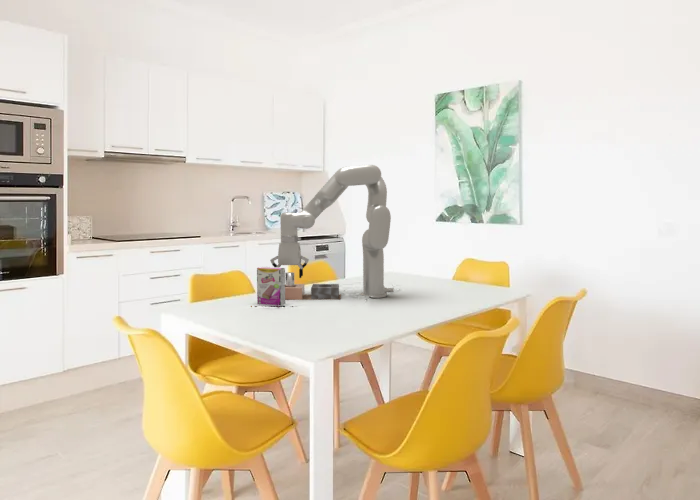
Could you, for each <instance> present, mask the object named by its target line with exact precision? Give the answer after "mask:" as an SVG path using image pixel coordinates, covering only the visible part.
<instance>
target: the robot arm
mask: <svg viewBox="0 0 700 500" xmlns="http://www.w3.org/2000/svg"><path fill="white" fill-rule="evenodd" d="M351 186H353V187H354V186H366V188H367V193H368V195H367V196H368V197H367V205H366V214H365V218H366V220H367V222H368V223H369V224H368V228H367V229H366V230H365V231H364V232H363V234H362V237H361V238H362V239H361V244H362V245H361V246H362V257H363V258H362V274H363V275H362V280H363V282H362V286H363V287H362V288H363V290H362V292H360V293H359V295H360V296H364V297H369V299H381V298H386V297H387V296H388V293H394V291H395V289H394V288H393V287H385V282H384V279H385V271H384V269H385V267H384V266H385V265H384V264H385V259H384V256H385V255H384V254H385V253H384V248H386V247H387V245H388V243H389V238H390V231H391V230H390V228H391V221H392V220H391V219H392V215H391V211H390V209H389V208H388V207H387V199H388V198H387V197H388V195H387V193H388V191H387V189H388V188H387V184H386V182H385V180H384V179H383V177H382V171H381V169H380V168H379V167H378V166H377V165H375V164H368V165H367V164H366V165H365V164H364V165H356V166H343V167H341V168H339V169H337V170H336V171H335V172H334V174H332V176H331V177H330V178H329V179H328V180H327V182H325V183H324V185H323V186H322V187H321V188H320V189H319V190H318V191H317V192H316V194H315V195H314V196H313V197H312V199H310V201H309V202H308V203H307V204H306V205H305V207H303V209H302V210H301V211H300V212H292V211H291V212H290V211H289V212H288V211H287V212H281V214H280V243H279V244H278V249H277V250H278V252H277V255H276V256H275V257H272V258H271V259H270V263H271V265H272V267H279V268H281V266H298V267H299V270H298V271H299V272H298V274H299V276H298V277H299V279H301V278H302V277H303V276H304V273H303V272H304V268H305V267H306V266H307V265H308V263H309V261H310V259H309V258H308V257H305V256H303V255H302V251H301V244H300V242H299V241H302V237H301V236H299V235H298V229H305V230H306V229H311V228H313V227H314V225H315V222H316V219H317V218H318V217H319V216H320V215H321V214H322V213H323V212H324V211H325V210H326V209H327V208H329V207H331V206H332V205H333V204H334V203H335V202H336V201H337V200H338V199H339V197H340V196H341V195H342V194H343V193H344V192H345V191H346V190H347V189H348V187H351ZM276 260H277V263H276V262H275V261H276ZM302 260H303V261H304V262H303V264H302Z"/></svg>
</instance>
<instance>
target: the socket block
mask: <svg viewBox="0 0 700 500" xmlns="http://www.w3.org/2000/svg"><path fill="white" fill-rule="evenodd" d="M304 295H305V283H294V287H286V283H285V299H303V297H304Z"/></svg>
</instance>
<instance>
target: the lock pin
mask: <svg viewBox="0 0 700 500" xmlns="http://www.w3.org/2000/svg"><path fill="white" fill-rule="evenodd" d="M285 284H286V287H294V284H295V272H292V271H291V272H285Z"/></svg>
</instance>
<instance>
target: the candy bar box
mask: <svg viewBox="0 0 700 500" xmlns="http://www.w3.org/2000/svg"><path fill="white" fill-rule="evenodd" d="M285 273H286V267H274V266H259V267H257V268H256V281H257V282H256V287H257V288H256V289H257V290H256V291H257V292H256V293H257V294H256V295H257V305H266V306H267V307H269V308H282V307H283V308H284V305H285V304H286V300H285V284H286V280H285Z"/></svg>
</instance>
